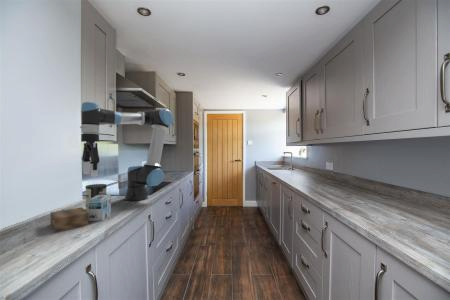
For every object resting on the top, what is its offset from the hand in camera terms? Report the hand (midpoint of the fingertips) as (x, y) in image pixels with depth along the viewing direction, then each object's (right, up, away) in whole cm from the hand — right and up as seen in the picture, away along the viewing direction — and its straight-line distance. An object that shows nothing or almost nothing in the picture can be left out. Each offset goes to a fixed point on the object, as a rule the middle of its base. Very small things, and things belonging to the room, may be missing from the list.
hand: (90, 175), depth 104 cm
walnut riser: (-4, -22, -9) cm, 24 cm away
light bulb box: (+4, -22, +1) cm, 22 cm away
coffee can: (-6, -22, +14) cm, 26 cm away
